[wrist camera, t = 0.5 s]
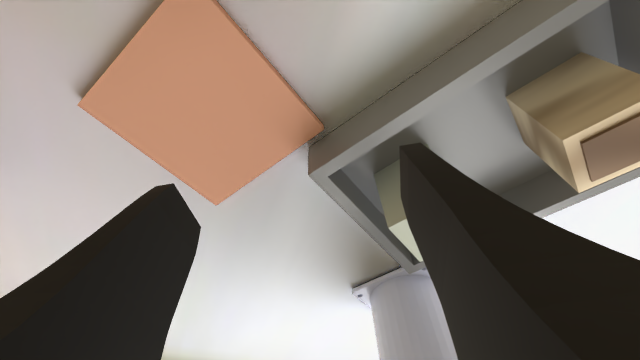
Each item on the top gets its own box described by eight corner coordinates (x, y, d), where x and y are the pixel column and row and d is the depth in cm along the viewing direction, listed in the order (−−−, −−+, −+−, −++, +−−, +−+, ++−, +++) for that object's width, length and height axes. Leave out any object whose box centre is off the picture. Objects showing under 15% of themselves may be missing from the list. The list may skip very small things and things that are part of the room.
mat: (323, 124, 19) (324, 129, 18) (218, 200, 22) (216, 205, 22) (191, -28, 14) (187, -28, 13) (83, 100, 17) (77, 104, 17)
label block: (593, 107, 18) (676, 153, 14) (524, 143, 19) (581, 195, 15) (581, 51, 16) (674, 87, 12) (505, 96, 17) (564, 142, 13)
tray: (638, 132, 19) (684, 157, 17) (400, 244, 26) (409, 274, 23) (615, -65, 13) (681, -68, 11) (308, 147, 20) (308, 175, 17)
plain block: (451, 181, 21) (483, 234, 17) (401, 207, 23) (420, 262, 19) (426, 143, 19) (456, 193, 15) (373, 174, 21) (388, 227, 17)
